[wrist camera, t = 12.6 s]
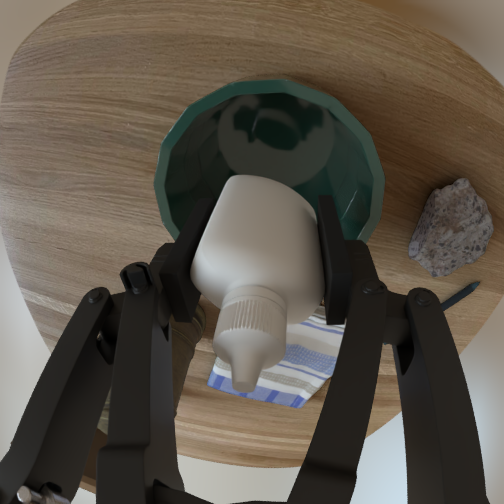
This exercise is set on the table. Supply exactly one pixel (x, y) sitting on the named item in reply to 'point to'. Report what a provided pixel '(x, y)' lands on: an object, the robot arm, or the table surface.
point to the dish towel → (292, 364)
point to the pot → (271, 151)
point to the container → (174, 358)
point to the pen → (458, 296)
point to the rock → (451, 229)
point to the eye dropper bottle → (258, 272)
